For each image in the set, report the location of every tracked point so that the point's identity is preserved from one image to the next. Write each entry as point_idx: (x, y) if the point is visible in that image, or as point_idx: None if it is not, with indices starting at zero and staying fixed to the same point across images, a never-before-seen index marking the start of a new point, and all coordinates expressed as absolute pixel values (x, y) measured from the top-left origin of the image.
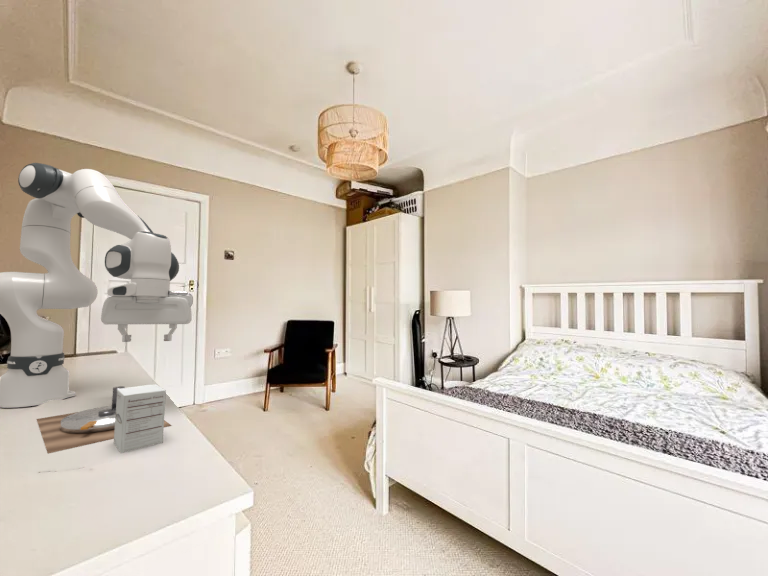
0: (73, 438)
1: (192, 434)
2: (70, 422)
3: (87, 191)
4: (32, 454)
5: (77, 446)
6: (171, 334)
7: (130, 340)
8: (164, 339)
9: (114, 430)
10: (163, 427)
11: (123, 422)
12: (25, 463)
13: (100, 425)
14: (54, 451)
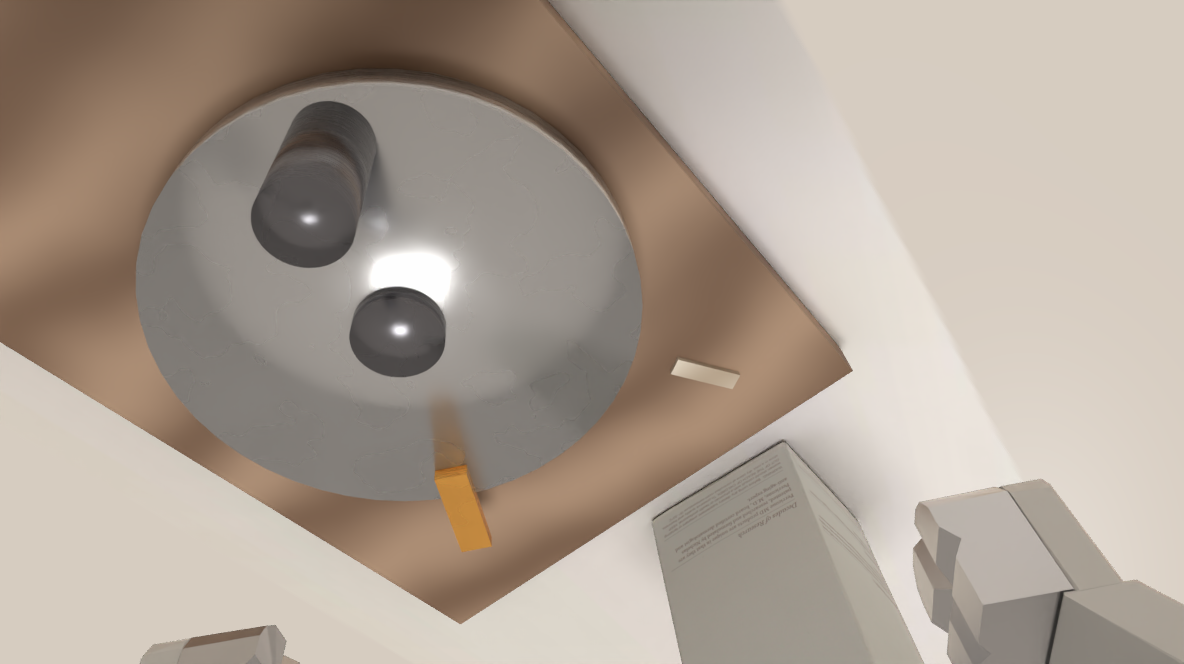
0: (432, 511)
1: (957, 380)
2: (301, 456)
3: None
4: (335, 550)
5: (527, 578)
6: (1113, 600)
7: (280, 654)
8: (938, 608)
9: (667, 593)
10: (894, 601)
11: None
12: (391, 606)
13: (508, 478)
14: (471, 611)
